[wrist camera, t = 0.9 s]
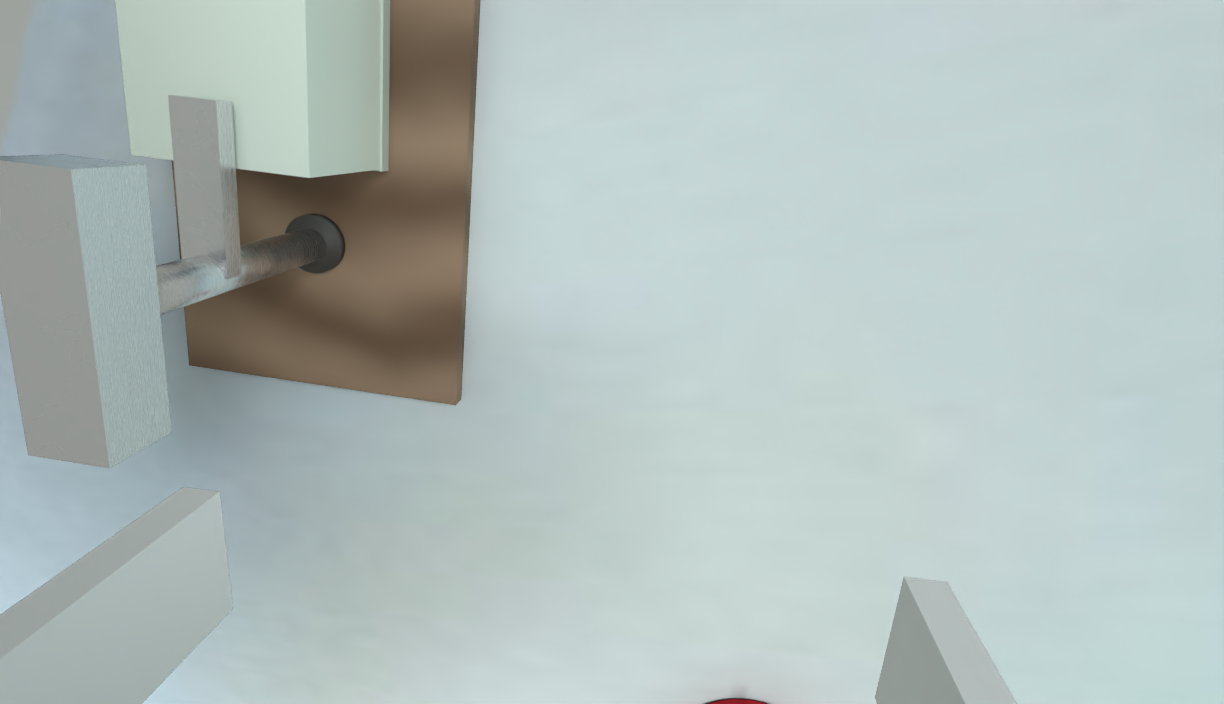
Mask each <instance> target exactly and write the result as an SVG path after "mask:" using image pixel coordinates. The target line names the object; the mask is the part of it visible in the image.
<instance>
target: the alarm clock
mask: <svg viewBox="0 0 1224 704" xmlns="http://www.w3.org/2000/svg"><path fill="white" fill-rule="evenodd" d="M709 704H766V703H762V702H758V701H752V700H744V699H730V700H722V701H717V702H713V703H709Z"/></svg>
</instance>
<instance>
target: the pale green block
mask: <svg viewBox="0 0 1224 704" xmlns="http://www.w3.org/2000/svg"><path fill="white" fill-rule="evenodd" d="M115 5H116V15H117V25H118V34H119V44H120V54H121V64H122V74H123V83H124V93H125V103H126V113H127V122H128V132H129V142H130V152H131V155H135V156H142V157H150V158H158V159H166V160H173V150H172V138H171V126H170V114H169V102H168V95H179V96H190V97H198V98H206V99H214V100H223V101H231V102H232V111H233V128H234V146H235V164H236V169H243V170H251V171H259V172H267V173H275V174H282V175H290V176H298V177H306V178H314V177H322V176H330V175H338V174H347V173H355V172H363V171H372V170H373V171H381V172H383V171H388V163H389V71H390V0H115Z"/></svg>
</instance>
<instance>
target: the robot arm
mask: <svg viewBox="0 0 1224 704" xmlns="http://www.w3.org/2000/svg"><path fill="white" fill-rule="evenodd" d="M232 609H233V602H232V593H231V584H230V576H229V567H228V559H227V550H226V542H225V533H224V524H223V516H222V507H221V499H220V492H219V491H211V490H203V489H195V488H187V487H182V488H181V489H179V490H178V491H177V492H175V493H174V494H172V495H171V496H169V497H168V498H167V499H165V500H164V501H162V502H161V503H159V504H158V505H157V506H155V507H154V508H152V509H151V510H149V511H148V512H146V513H145V514H144V515H142V516H141V517H139V518H138V519H136V520H135V521H134V522H132V523H131V524H129V525H128V526H126V527H125V528H124V529H122V530H121V531H119V532H118V533H116V534H115V535H114V536H112V537H111V538H109V539H108V540H106V541H105V542H104V543H102V544H101V545H99V546H98V547H96V548H95V549H94V550H92V551H91V552H89V553H88V554H86V555H85V556H83V557H82V558H81V559H79V560H78V561H76V562H75V563H73V564H72V565H71V566H69V567H68V568H66V569H65V570H63V571H62V572H61V573H59V574H58V575H56V576H55V577H53V578H52V579H51V580H49V581H48V582H46V583H45V584H43V585H42V586H41V587H39V588H38V589H36V590H35V591H33V592H32V593H30V594H29V595H28V596H26V597H25V598H23V599H22V600H20V601H19V602H18V603H16V604H15V605H13V606H12V607H10V608H9V609H8V610H6V611H5V612H3V613H2V614H0V704H142V703H143V702H144V701H145V700H146V699H147V698H148V697H149V696H150V695H151V694H152V693H153V692H154V690H155V689H156V688H157V687H158V686H159V685H160V684H161V683H162V682H163V681H164V680H165V679H166V678H167V677H168V676H169V675H170V674H171V673H172V672H173V671H174V670H175V669H176V668H177V667H178V665H179V664H180V663H181V662H182V661H183V660H184V659H185V658H186V657H187V656H188V655H189V654H190V653H191V652H192V651H193V650H194V649H195V648H196V647H197V646H198V645H199V644H200V643H201V642H202V641H203V639H204V638H205V637H206V636H207V635H208V634H209V633H210V632H211V631H212V630H213V629H214V628H215V627H216V626H217V625H218V624H219V623H220V622H221V621H222V620H223V619H224V618H225V617H226V616H227V614H228V613H229V612H230V611H231V610H232ZM875 699H876V702H877V704H1017V702H1016V701H1015V699H1014V697H1013V695H1012V694H1011V692H1010V690H1009V688H1008V687H1007V685H1006V683H1005V682H1004V680H1003V678H1002V676H1001V675H1000V673H999V671H998V669H997V668H996V666H995V664H994V662H993V661H992V659H991V657H990V655H989V654H988V652H987V650H986V648H985V647H984V645H983V643H982V641H981V640H980V638H979V636H978V634H977V633H976V631H975V629H974V628H973V626H972V624H971V622H970V621H969V619H968V617H967V615H966V614H965V612H964V610H963V608H962V607H961V605H960V603H959V601H958V600H957V598H956V596H955V594H954V593H953V591H952V589H951V587H950V586H949V584H948V582H944V581H936V580H928V579H920V578H912V577H904V578H903V582H902V586H901V591H900V595H899V599H898V603H897V607H896V611H895V616H894V620H893V624H892V628H891V632H890V637H889V641H888V645H887V649H886V653H885V657H884V662H883V666H882V670H881V674H880V678H879V683H878V687H877V691H876V695H875Z"/></svg>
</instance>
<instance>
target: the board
mask: <svg viewBox="0 0 1224 704" xmlns="http://www.w3.org/2000/svg"><path fill="white" fill-rule="evenodd" d="M479 16H480V0H390V71H389V163H388V171H383V172H381V171H373V170H372V171H363V172H355V173H347V174H338V175H330V176H322V177H314V178H306V177H298V176H290V175H282V174H275V173H267V172H259V171H251V170H243V169H236V181H237V199H238V217H239V234H240V245H242V244H246V243H250V242H254V241H258V240H262V239H266V238H270V237H274V236H278V235H282V234H286V233H290V232H294V231H298V230H302V229H306V228H309V229H313V230H316V231H317V232H319V233H320V234H321V235H322V237H323V238H324V240H325V243H326V252H325V254H324V256H323V257H322V258H321V259H320V260H318V261H315V262H312V263H309V264H306V265H303V266H300V267H298V268H295V269H292V270H289V271H286V272H283V273H280V274H277V275H274V276H271V277H269V278H266V279H263V280H260V281H257V282H254V283H251V284H248V285H245V286H242V287H240V288H237V289H234V290H231V291H228V292H225V293H222V294H219V295H216V296H213V297H211V298H208V299H205V300H202V301H199V302H196V303H193V304H190V305H187V306H184V309H185V321H186V332H187V344H188V356H189V365H192V366H198V367H205V368H212V369H218V370H225V371H232V372H238V373H245V374H252V375H258V376H265V377H272V378H278V379H285V380H292V381H299V382H305V383H312V384H319V385H325V386H332V387H339V388H345V389H352V390H359V391H365V392H372V393H379V394H385V395H392V396H399V397H405V398H412V399H419V400H426V401H432V402H439V403H446V404H452V405H456V404H457V403H458V402H459V401H460V400H461V391H462V370H463V350H464V329H465V308H466V287H467V266H468V245H469V224H470V203H471V183H472V162H473V141H474V120H475V99H476V78H477V57H478V36H479ZM172 167H173V179H174V191H175V202H176V214H177V226H178V238H179V250H180V260H182V257H181V245H180V233H179V221H178V209H177V197H176V185H175V174H174V162H173V160H172Z"/></svg>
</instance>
